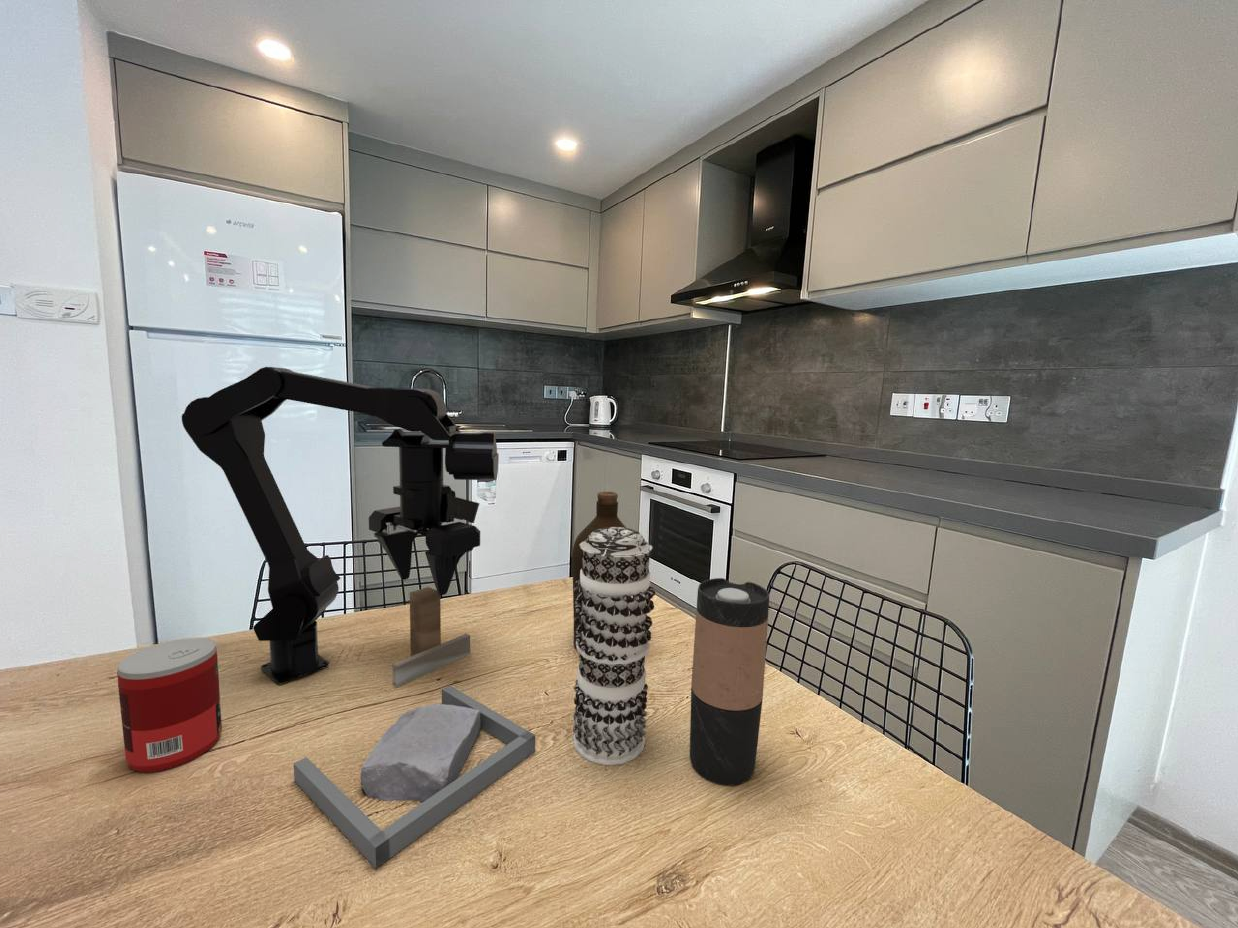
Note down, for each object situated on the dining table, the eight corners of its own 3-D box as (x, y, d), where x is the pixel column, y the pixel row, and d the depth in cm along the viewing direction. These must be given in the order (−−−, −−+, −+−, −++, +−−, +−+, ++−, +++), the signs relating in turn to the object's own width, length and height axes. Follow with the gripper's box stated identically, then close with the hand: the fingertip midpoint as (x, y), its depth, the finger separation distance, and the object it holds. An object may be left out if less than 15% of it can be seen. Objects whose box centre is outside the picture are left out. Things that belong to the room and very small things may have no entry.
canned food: (238, 734, 58) (232, 644, 57) (156, 783, 51) (147, 680, 49) (193, 719, 61) (186, 631, 59) (108, 763, 53) (98, 664, 52)
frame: (294, 781, 52) (293, 763, 51) (449, 699, 66) (449, 684, 66) (376, 868, 43) (375, 847, 42) (535, 751, 57) (535, 734, 57)
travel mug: (715, 797, 52) (728, 609, 49) (673, 750, 58) (683, 582, 56) (772, 774, 55) (786, 597, 53) (726, 732, 62) (737, 573, 59)
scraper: (381, 677, 71) (379, 601, 70) (454, 645, 81) (453, 578, 79) (397, 687, 69) (395, 609, 67) (470, 653, 78) (470, 585, 77)
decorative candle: (583, 776, 54) (590, 547, 51) (560, 724, 62) (565, 524, 59) (661, 757, 57) (672, 540, 54) (629, 709, 66) (637, 520, 63)
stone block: (354, 818, 50) (453, 806, 49) (344, 773, 50) (443, 759, 49) (408, 741, 62) (488, 731, 61) (400, 704, 61) (481, 693, 61)
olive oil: (640, 659, 79) (648, 500, 75) (572, 662, 77) (576, 500, 74) (628, 628, 89) (634, 487, 86) (567, 630, 87) (571, 487, 84)
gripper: (511, 481, 72) (510, 586, 74) (433, 467, 83) (434, 559, 85) (443, 490, 63) (444, 610, 65) (365, 473, 74) (368, 577, 76)
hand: (423, 586), depth 73 cm, fingers open, 9 cm apart
